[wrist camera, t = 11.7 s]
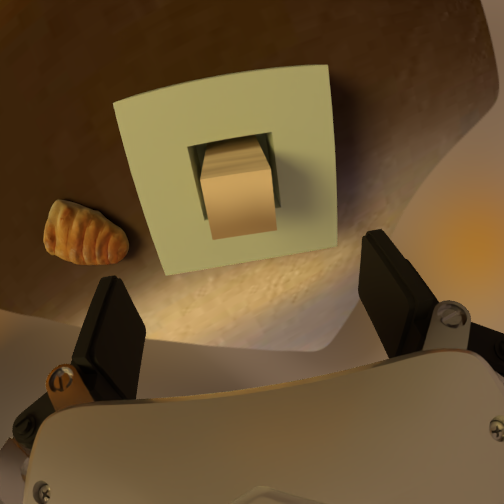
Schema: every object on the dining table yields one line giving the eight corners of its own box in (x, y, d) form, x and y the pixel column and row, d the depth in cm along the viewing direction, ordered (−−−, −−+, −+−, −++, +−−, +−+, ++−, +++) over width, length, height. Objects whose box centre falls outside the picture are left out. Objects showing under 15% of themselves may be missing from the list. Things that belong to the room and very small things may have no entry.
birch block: (207, 140, 26) (200, 179, 17) (254, 133, 26) (270, 169, 17) (215, 182, 28) (212, 239, 20) (259, 176, 28) (277, 230, 20)
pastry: (136, 215, 30) (127, 234, 27) (126, 267, 34) (118, 289, 30) (56, 193, 28) (39, 209, 25) (53, 245, 31) (40, 264, 28)
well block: (134, 95, 24) (113, 103, 19) (306, 65, 23) (327, 65, 18) (173, 240, 32) (165, 275, 27) (319, 215, 32) (337, 246, 27)
